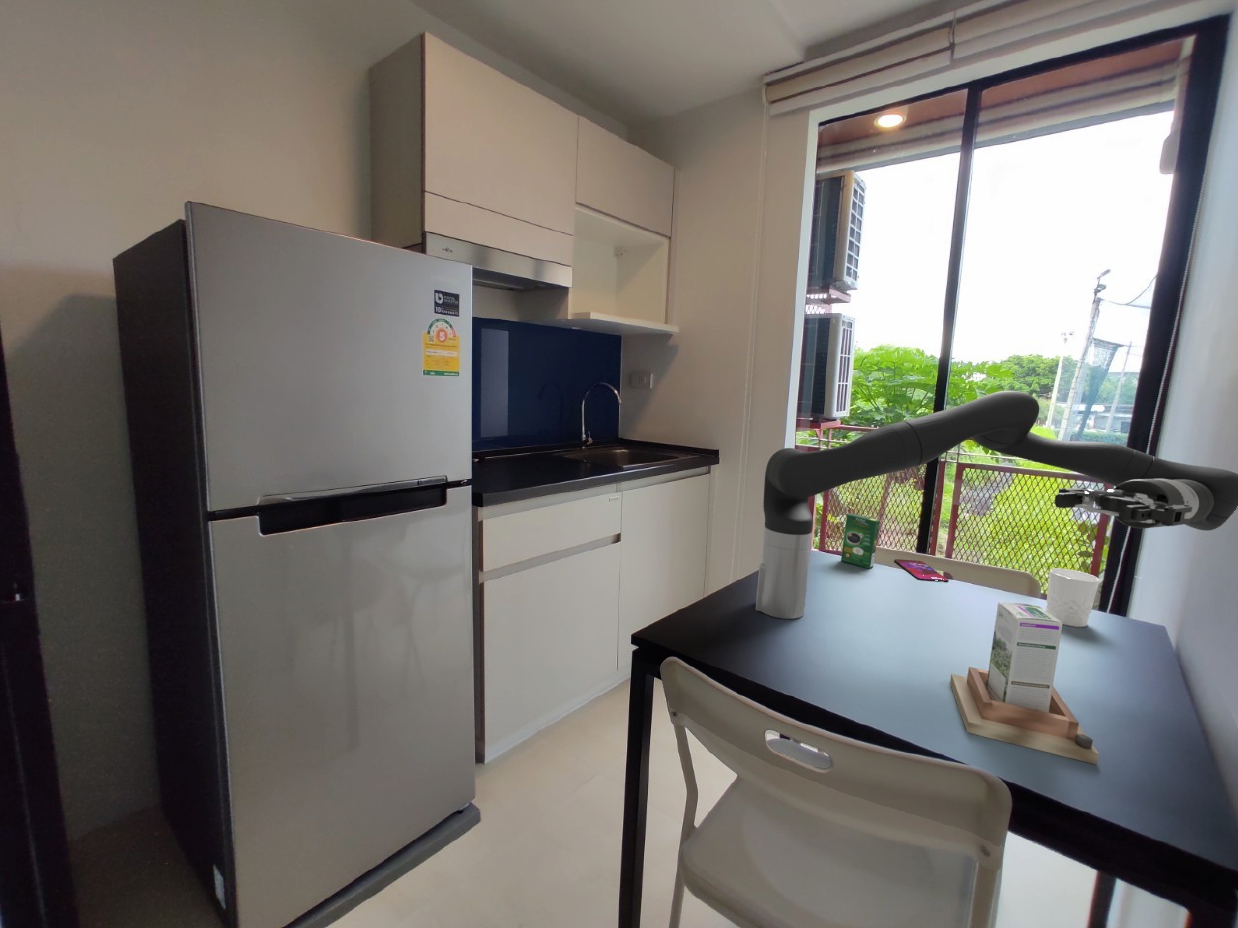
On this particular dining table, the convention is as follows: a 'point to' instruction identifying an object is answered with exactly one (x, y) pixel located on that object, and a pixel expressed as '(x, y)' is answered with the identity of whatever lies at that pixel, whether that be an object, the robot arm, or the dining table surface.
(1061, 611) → the white cup
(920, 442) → the robot arm
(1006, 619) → the syrup box
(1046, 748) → the wooden cradle
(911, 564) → the smartphone
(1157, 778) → the dining table surface
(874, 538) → the coffee box
